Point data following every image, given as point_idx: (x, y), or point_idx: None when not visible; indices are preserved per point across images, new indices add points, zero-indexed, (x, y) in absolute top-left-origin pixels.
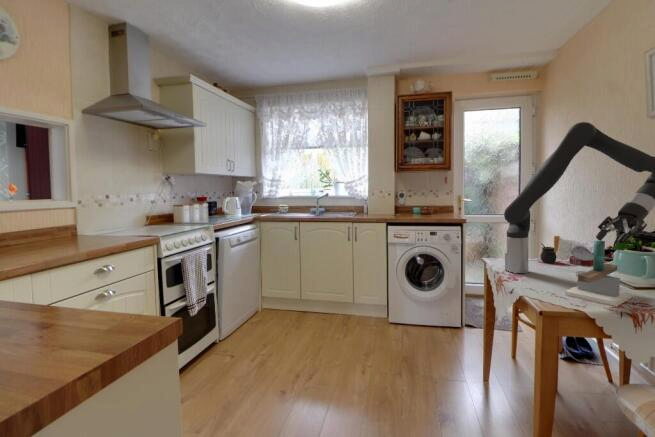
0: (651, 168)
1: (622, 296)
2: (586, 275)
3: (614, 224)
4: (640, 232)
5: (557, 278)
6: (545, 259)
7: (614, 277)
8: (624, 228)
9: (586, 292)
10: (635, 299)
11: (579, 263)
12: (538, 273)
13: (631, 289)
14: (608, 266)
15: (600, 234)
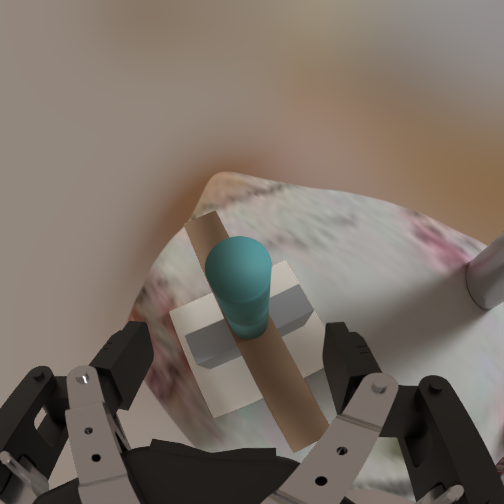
0: None
1: (198, 367)
2: (205, 229)
3: (284, 471)
4: (39, 429)
5: (426, 348)
6: None
7: (207, 352)
8: (102, 404)
9: None
10: (198, 408)
11: (497, 468)
12: (469, 326)
13: None
14: (288, 405)
15: (336, 347)
